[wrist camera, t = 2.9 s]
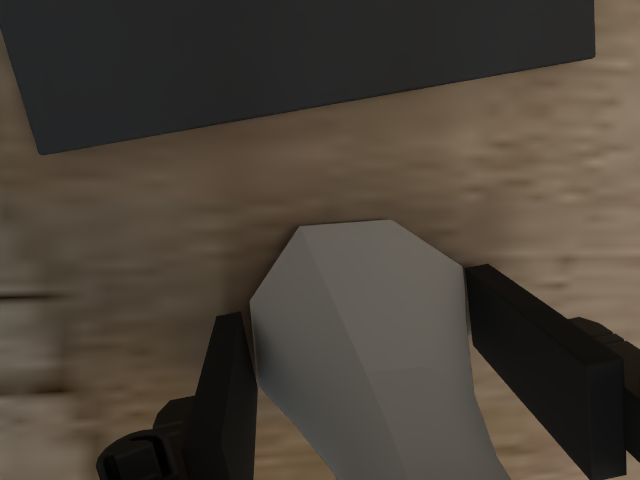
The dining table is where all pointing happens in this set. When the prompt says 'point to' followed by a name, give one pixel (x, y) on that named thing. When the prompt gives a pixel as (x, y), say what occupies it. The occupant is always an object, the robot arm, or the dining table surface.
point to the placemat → (260, 56)
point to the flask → (372, 354)
